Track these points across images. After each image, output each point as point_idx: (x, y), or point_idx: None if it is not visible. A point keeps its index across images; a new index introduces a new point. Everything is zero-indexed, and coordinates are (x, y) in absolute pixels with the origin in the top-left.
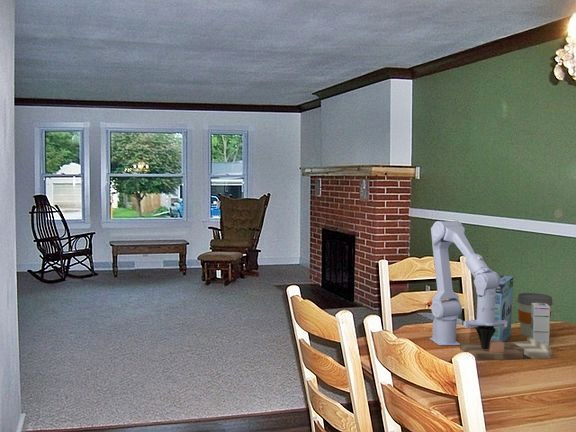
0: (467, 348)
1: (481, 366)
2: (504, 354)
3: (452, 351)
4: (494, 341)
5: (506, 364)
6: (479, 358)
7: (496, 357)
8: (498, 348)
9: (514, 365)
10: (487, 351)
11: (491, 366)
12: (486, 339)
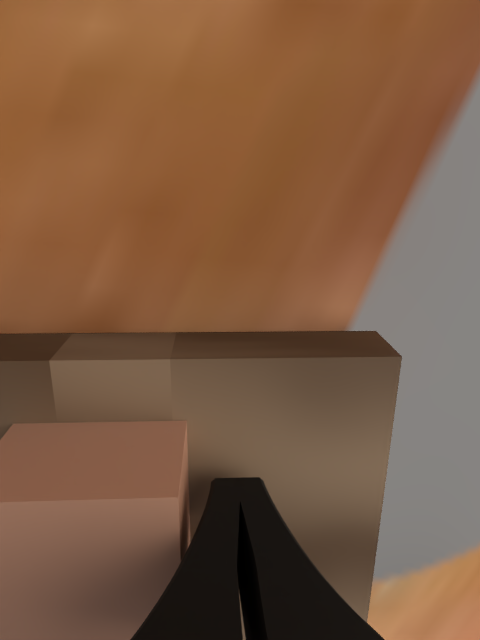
0: (370, 579)
1: (454, 102)
2: (35, 356)
3: (444, 601)
4: (78, 592)
5: (106, 151)
6: (356, 339)
7: (149, 342)
8: (76, 451)
9: (17, 95)
10: (212, 461)
11: (334, 87)
12: (257, 567)
